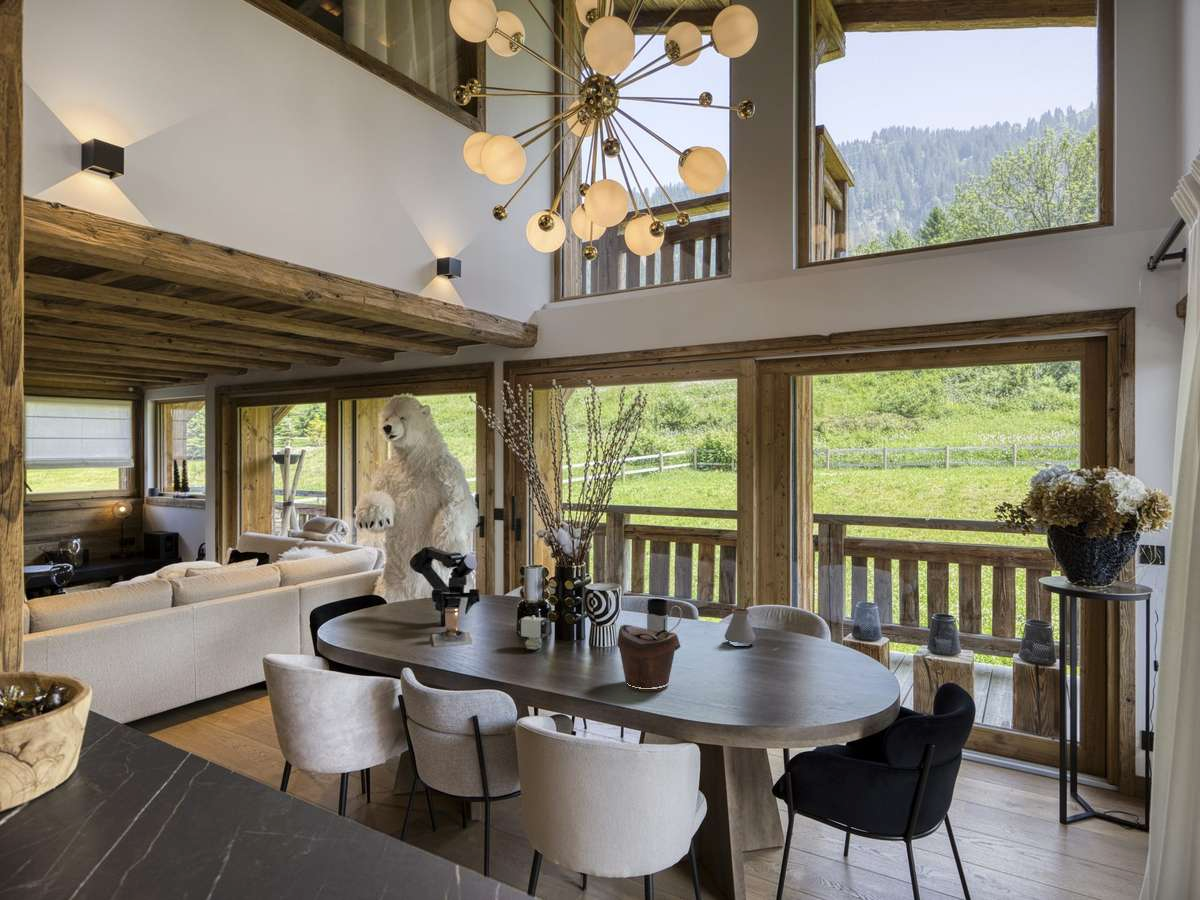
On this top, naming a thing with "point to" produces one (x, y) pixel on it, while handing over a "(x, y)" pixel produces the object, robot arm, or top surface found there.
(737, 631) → the coffee pot
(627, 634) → the brown flower pot
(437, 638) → the duct collar plate
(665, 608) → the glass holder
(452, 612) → the copper cylindrical jar
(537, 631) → the pneumatic valve
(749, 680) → the top surface
